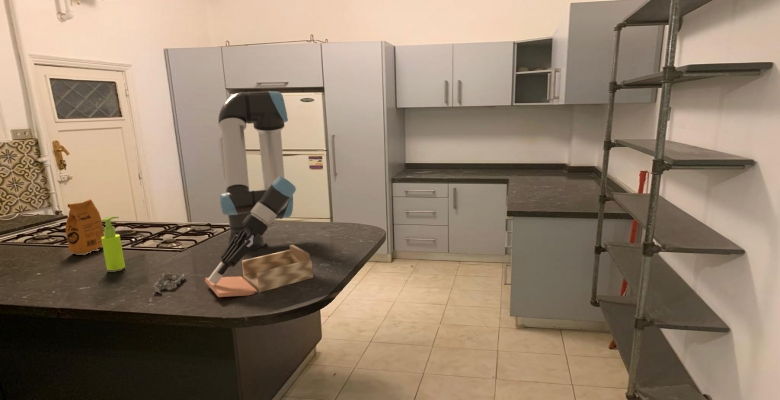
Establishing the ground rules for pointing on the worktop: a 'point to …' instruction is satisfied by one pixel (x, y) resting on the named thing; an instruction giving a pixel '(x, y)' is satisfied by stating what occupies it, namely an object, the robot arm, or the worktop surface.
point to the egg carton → (167, 282)
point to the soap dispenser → (112, 247)
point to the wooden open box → (278, 269)
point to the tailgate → (231, 287)
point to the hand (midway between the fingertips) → (211, 281)
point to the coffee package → (84, 227)
